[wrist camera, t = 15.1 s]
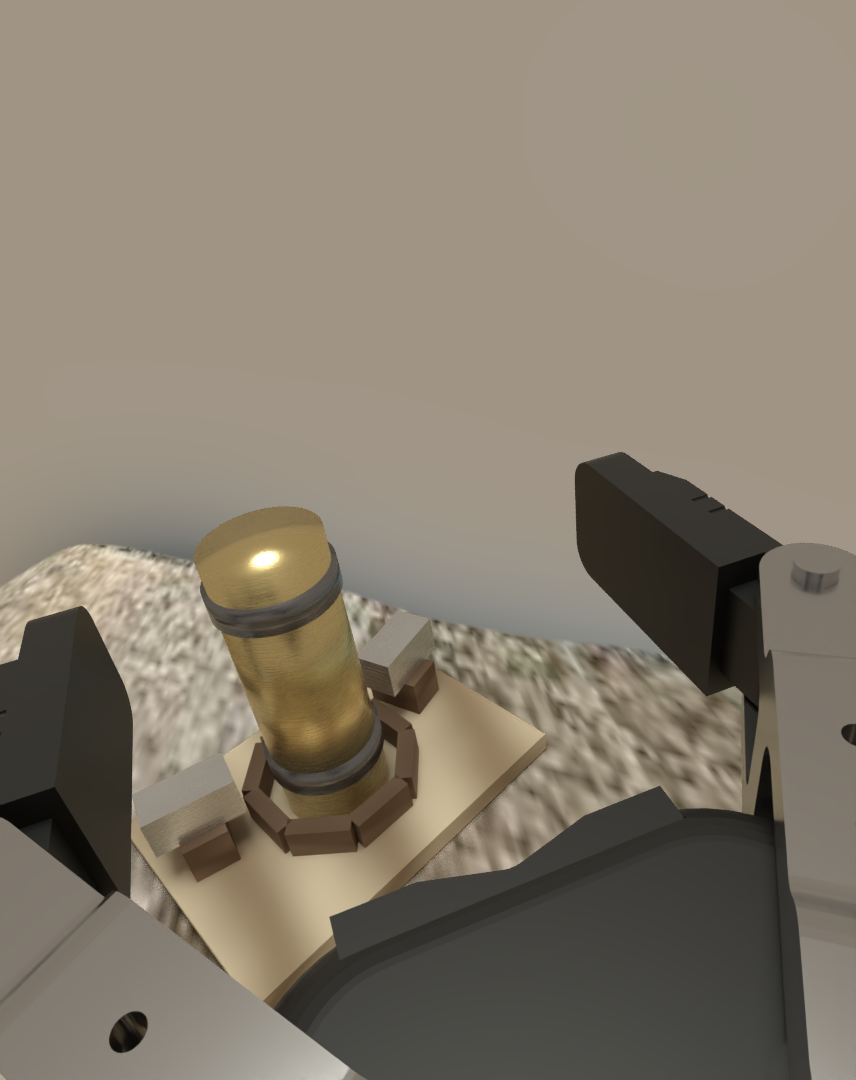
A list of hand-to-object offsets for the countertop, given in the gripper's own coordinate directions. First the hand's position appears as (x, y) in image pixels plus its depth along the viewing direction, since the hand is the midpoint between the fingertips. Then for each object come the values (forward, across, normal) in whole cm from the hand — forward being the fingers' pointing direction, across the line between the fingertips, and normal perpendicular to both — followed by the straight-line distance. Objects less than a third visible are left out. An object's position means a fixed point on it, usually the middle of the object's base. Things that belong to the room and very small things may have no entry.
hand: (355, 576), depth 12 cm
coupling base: (+15, +1, +23) cm, 27 cm away
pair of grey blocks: (+17, +2, +20) cm, 26 cm away
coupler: (+15, +1, +22) cm, 26 cm away
